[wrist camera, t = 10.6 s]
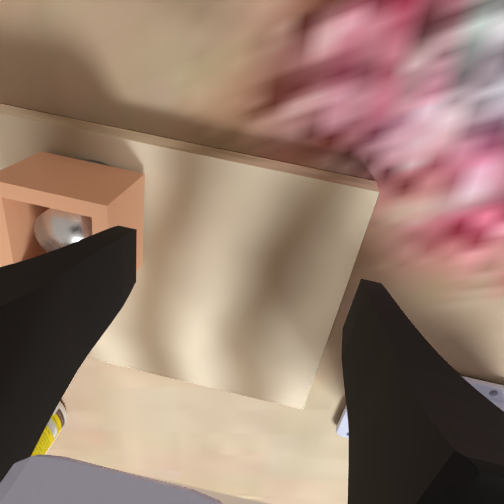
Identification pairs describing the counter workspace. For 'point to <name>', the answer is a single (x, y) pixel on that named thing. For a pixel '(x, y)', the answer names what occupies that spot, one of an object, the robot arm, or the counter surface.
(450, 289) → the counter surface
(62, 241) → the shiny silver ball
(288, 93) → the counter surface
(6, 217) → the orange hollow cube
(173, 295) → the beige base plate
